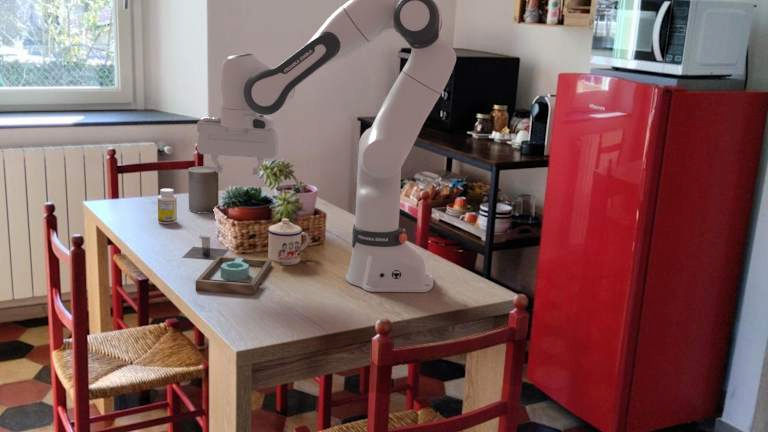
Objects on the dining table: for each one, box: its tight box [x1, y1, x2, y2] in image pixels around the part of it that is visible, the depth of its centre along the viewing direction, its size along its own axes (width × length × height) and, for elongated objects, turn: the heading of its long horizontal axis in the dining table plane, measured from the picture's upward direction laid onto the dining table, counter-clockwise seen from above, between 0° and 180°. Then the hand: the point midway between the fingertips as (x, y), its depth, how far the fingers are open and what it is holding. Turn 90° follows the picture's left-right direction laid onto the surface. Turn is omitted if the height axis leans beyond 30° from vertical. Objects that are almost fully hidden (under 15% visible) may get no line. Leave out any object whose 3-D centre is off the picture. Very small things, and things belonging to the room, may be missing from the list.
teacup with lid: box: [267, 218, 310, 266], centre depth 219 cm, size 12×9×12 cm
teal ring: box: [220, 257, 250, 282], centre depth 203 cm, size 10×6×3 cm
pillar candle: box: [187, 165, 219, 213], centre depth 265 cm, size 10×10×15 cm
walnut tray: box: [195, 255, 272, 296], centre depth 202 cm, size 14×20×2 cm
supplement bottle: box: [157, 188, 178, 225], centre depth 248 cm, size 6×6×10 cm
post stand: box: [181, 235, 229, 261], centre depth 218 cm, size 10×10×6 cm
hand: (237, 173), depth 207 cm, fingers open, 8 cm apart
